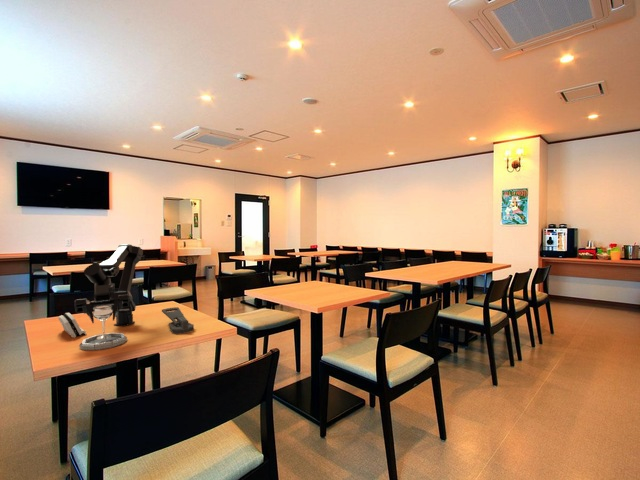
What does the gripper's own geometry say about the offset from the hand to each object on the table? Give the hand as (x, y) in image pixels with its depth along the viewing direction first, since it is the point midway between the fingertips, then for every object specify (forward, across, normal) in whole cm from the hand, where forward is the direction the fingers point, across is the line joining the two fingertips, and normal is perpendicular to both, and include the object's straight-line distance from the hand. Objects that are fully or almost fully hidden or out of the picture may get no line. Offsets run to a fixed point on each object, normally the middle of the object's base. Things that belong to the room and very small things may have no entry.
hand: (103, 321), depth 135 cm
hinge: (-11, -12, +25) cm, 30 cm away
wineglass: (+4, 0, +6) cm, 7 cm away
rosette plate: (+6, 0, +7) cm, 9 cm away
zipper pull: (0, +28, +14) cm, 32 cm away
